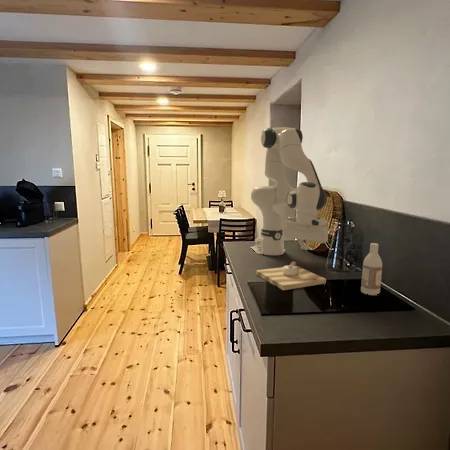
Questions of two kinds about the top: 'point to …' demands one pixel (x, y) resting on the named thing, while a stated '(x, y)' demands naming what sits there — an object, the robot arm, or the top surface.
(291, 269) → the brown and cream block
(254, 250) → the robot arm
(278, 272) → the wooden cutting board
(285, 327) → the top surface
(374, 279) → the bath foam
